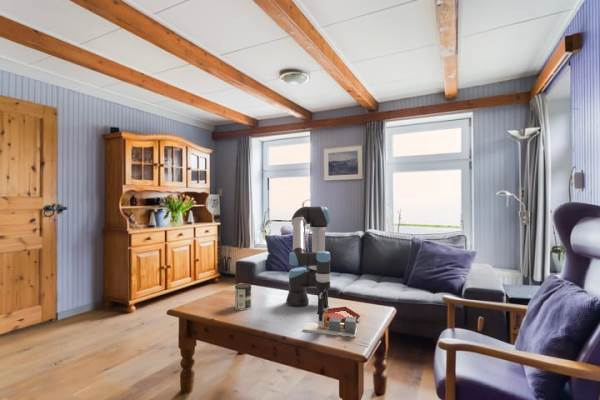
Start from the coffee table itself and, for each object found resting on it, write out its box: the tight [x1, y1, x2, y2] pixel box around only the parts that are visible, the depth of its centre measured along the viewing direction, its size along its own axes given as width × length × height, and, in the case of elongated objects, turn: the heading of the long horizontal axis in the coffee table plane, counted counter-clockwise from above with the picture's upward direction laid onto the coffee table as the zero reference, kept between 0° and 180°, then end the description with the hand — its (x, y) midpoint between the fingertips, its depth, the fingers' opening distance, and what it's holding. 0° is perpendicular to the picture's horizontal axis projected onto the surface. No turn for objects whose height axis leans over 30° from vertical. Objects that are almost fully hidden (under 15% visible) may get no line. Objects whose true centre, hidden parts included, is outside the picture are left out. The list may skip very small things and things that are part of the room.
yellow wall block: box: [318, 311, 345, 330], centre depth 165 cm, size 18×4×8 cm, turn 74°
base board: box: [302, 322, 358, 338], centre depth 166 cm, size 10×28×1 cm, turn 74°
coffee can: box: [234, 283, 252, 311], centre depth 201 cm, size 10×10×14 cm
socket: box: [344, 316, 357, 334], centre depth 163 cm, size 7×5×6 cm
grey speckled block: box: [328, 317, 343, 332], centre depth 165 cm, size 6×6×5 cm
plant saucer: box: [327, 306, 361, 323], centre depth 184 cm, size 18×18×3 cm
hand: (322, 323), depth 167 cm, fingers open, 8 cm apart
